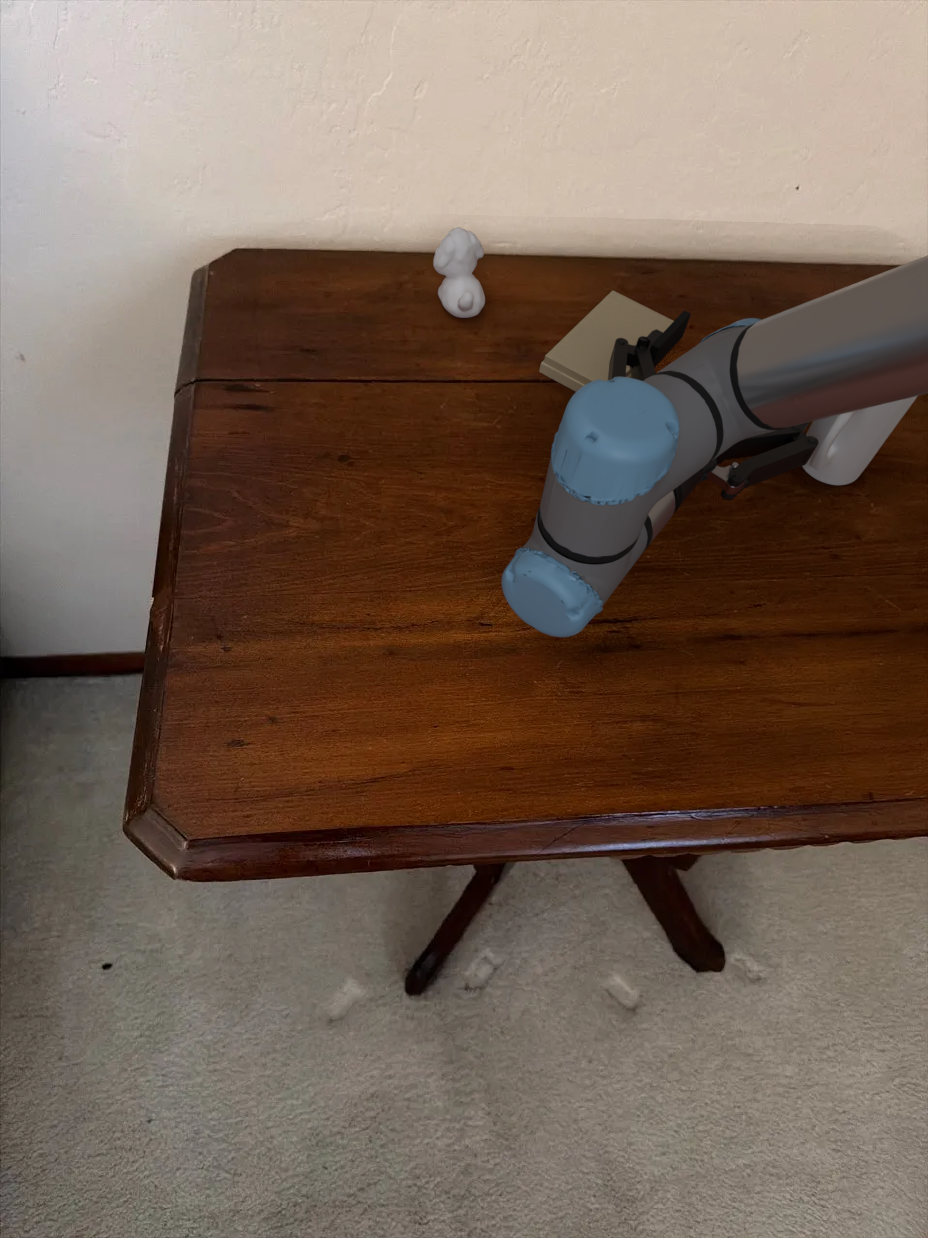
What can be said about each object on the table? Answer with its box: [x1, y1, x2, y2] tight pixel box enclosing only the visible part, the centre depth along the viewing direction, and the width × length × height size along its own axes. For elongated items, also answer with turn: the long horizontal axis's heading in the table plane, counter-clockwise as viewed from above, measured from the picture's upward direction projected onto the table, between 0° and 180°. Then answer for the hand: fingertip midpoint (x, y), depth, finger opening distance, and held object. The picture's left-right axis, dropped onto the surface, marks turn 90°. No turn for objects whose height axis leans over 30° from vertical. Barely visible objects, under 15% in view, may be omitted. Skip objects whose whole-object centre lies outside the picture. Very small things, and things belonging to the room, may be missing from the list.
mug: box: [801, 396, 918, 486], centre depth 80 cm, size 10×7×12 cm, turn 136°
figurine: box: [432, 226, 486, 319], centre depth 90 cm, size 5×8×8 cm
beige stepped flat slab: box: [538, 290, 675, 393], centre depth 91 cm, size 8×14×2 cm, turn 145°
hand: (746, 355), depth 83 cm, fingers open, 13 cm apart
